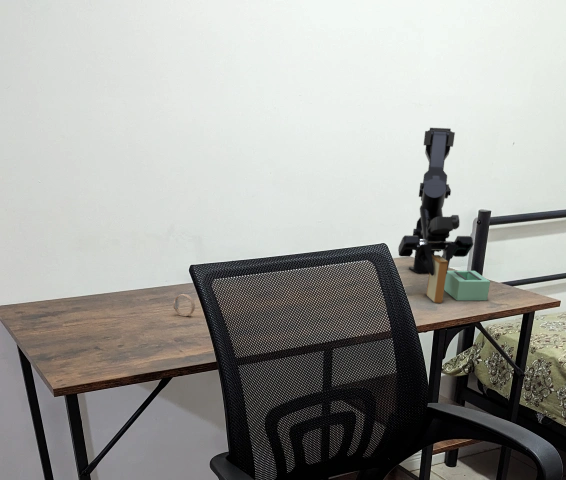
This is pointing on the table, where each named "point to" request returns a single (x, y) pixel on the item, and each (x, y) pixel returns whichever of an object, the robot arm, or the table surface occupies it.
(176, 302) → the beige ring
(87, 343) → the table surface
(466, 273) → the toaster
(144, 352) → the table surface
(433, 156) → the robot arm
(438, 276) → the toast
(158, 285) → the table surface
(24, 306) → the table surface
